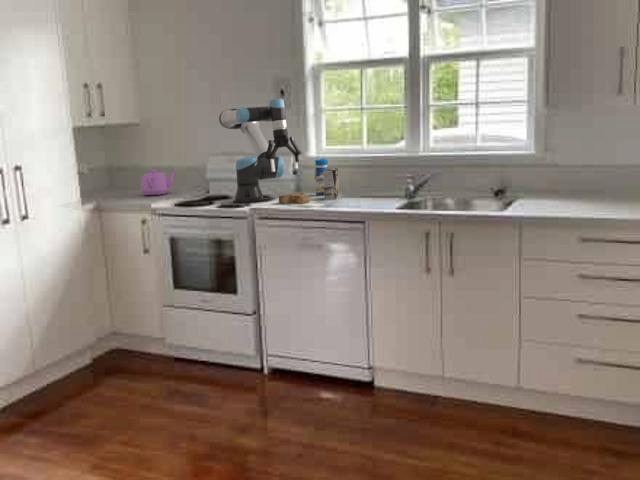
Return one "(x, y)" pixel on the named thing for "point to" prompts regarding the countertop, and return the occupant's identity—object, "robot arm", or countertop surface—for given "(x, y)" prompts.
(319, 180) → the beverage bottle
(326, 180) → the coffee box
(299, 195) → the walnut t block
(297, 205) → the slate board
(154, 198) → the countertop surface
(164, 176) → the teapot
